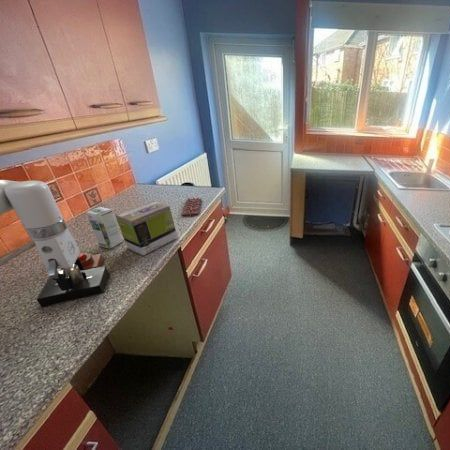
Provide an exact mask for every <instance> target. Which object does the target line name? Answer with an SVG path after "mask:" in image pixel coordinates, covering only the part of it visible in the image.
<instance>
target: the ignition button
mask: <svg viewBox="0 0 450 450" xmlns="http://www.w3.org/2000/svg"><path fill="white" fill-rule="evenodd" d="M84 253H85V252H81V251H80V253H79V259H80V261H83V260H84V259H86V257H85V254H84Z"/></svg>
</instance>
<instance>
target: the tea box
mask: <svg viewBox="0 0 450 450" xmlns="http://www.w3.org/2000/svg"><path fill="white" fill-rule="evenodd" d="M115 219H116V222H117V225H118V227H119V230H120V233H121V235H122V237H123V240H124V242H125V245H126V247H127V249H129V250H131V251H133V252H135V253H136V254H138V255H141V256H146V255H147V254H149V253H151V252H153V251H155V250H157V249H158V248H161V247H163V246H164V245H167V244H168V243H171V242H172V241H174V240H176V239H178V233H177V229H176V226H175V221H174V218H173V214H172V211H171V207H170V205H166V204H163V203H160V202H157V201H155V200H153V201H149V202H147V203H144V204H142V205H140V206H136V207H134V208H130V209H128V210H125V211H122V212H120V213H117V214H115Z"/></svg>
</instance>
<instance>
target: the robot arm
mask: <svg viewBox="0 0 450 450" xmlns="http://www.w3.org/2000/svg"><path fill="white" fill-rule="evenodd" d="M13 210H14V212H15V214H16V215H17V217H18V219H19V221H20V222H21V225H22V226H23V228H24V230H25V231H26V234H27V235H28V237H29V239H30V240H32V241H34V244H35V247H36V250H37V253H38V254H39V255H38V256H39V257H40V259H41V260H42V261H41V262H42V264H43V265H44V267H45V269H46V270H47V271H48V278H52V279H53V280H54V281H56V282H57V284H58V286H59V287H60V289H61V291H64V290H69V289H74V288H75V287H76V285H75V283H74V281H73V279H72V277H71V276H69V274H68V269H70V268H72V267H73V265H74V264H76V265H78V267H79V269H80V271H82V270H83V269H84V268H83V266H82V264H81V262H80V259H79V253H80V252H81V250H80V248H79V245H78V243H77V241H76V240H75V238H74V236H73V234H72V233H71V231H70V230H69V227H68V225H67V223H66V221H65V218H64V217H63V214H62V212H61V210H60V208H59V206H58V203H57V202H56V200H55V198H54V195H53V193H52V191H51V189H50V187H49V184H47V183H46V182H44V181H42V180H23V181H16V180H15V181H14V180H9V179H0V216H2V215H4V214H6V213H8V212H11V211H13ZM58 267H59V268H58ZM61 267H62V268H61ZM61 270H63V272H64V275H63V274H59V273H58V271H61Z"/></svg>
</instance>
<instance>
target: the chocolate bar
mask: <svg viewBox="0 0 450 450" xmlns="http://www.w3.org/2000/svg"><path fill="white" fill-rule="evenodd" d="M201 204H202V198H201V197H196V198H195V197H193V198H190V197H188V198H186V202H185V204H184V208H183V210H182V213H181V215H182V217H186V216H187V217H192V216H199V214H200V209H201Z"/></svg>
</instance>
